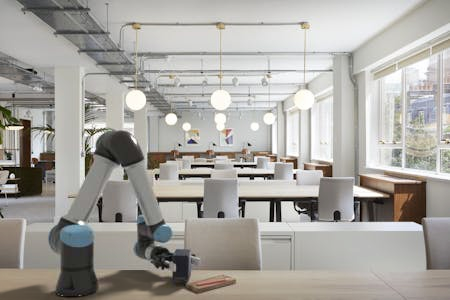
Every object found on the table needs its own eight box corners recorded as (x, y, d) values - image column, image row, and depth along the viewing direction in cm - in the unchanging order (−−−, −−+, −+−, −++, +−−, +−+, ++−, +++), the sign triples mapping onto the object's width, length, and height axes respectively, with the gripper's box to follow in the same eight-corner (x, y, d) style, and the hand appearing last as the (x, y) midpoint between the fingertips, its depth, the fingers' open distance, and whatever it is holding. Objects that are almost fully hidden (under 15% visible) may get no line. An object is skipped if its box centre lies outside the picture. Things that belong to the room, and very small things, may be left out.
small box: (189, 282, 167) (188, 255, 167) (171, 282, 167) (171, 255, 167) (191, 274, 177) (191, 248, 177) (175, 274, 178) (175, 248, 178)
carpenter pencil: (198, 286, 162) (198, 284, 162) (196, 285, 163) (196, 283, 163) (229, 280, 169) (229, 278, 169) (228, 279, 170) (228, 277, 170)
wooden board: (186, 287, 166) (186, 283, 166) (222, 278, 177) (222, 274, 177) (198, 292, 160) (198, 288, 160) (236, 282, 171) (236, 278, 171)
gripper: (180, 258, 194) (211, 269, 177) (132, 268, 178) (161, 280, 162) (180, 241, 194) (211, 250, 177) (132, 250, 178) (161, 260, 162)
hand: (187, 265), depth 169 cm, fingers closed on small box, 11 cm apart
